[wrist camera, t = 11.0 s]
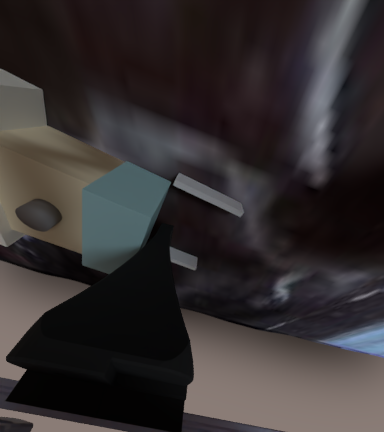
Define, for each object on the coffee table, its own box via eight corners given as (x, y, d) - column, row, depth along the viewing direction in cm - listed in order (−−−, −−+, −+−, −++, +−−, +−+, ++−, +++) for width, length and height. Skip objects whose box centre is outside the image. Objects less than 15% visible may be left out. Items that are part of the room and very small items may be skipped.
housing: (128, 163, 10) (83, 194, 6) (116, 225, 13) (82, 266, 10) (48, 125, 9) (-56, 136, 5) (57, 201, 12) (-3, 238, 9)
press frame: (248, 194, 10) (265, 234, 7) (192, 263, 15) (187, 305, 12) (0, 68, 8) (-159, 38, 4) (33, 202, 13) (-28, 235, 9)
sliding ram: (171, 182, 10) (151, 217, 7) (148, 238, 13) (127, 280, 10) (127, 161, 9) (82, 188, 6) (115, 225, 13) (82, 265, 9)
